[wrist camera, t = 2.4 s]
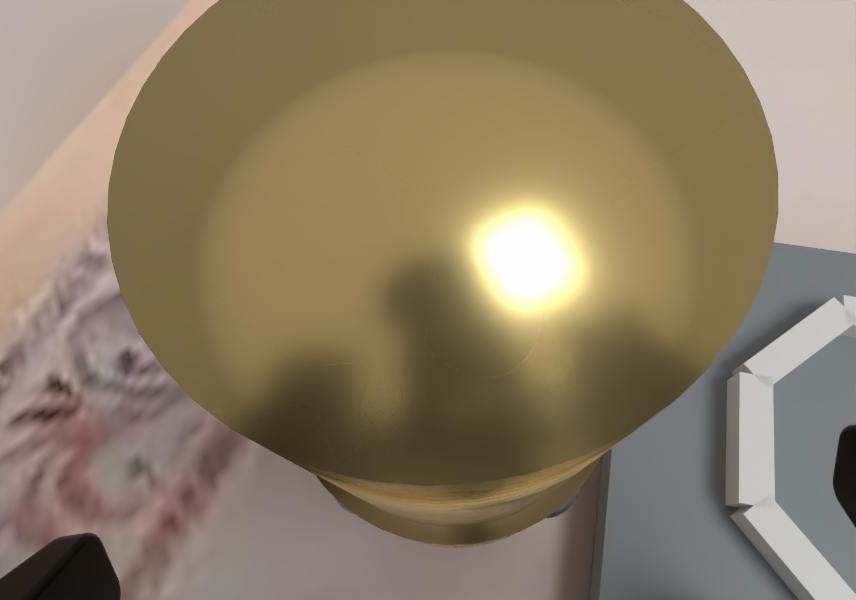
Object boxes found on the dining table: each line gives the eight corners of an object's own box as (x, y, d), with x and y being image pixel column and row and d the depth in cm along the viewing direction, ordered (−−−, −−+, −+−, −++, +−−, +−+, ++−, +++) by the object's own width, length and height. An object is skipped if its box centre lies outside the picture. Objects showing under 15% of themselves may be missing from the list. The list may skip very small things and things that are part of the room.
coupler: (585, 461, 16) (1004, 131, 4) (458, 600, 15) (420, 827, 2) (458, 342, 18) (438, -185, 5) (335, 459, 17) (-81, 156, 4)
